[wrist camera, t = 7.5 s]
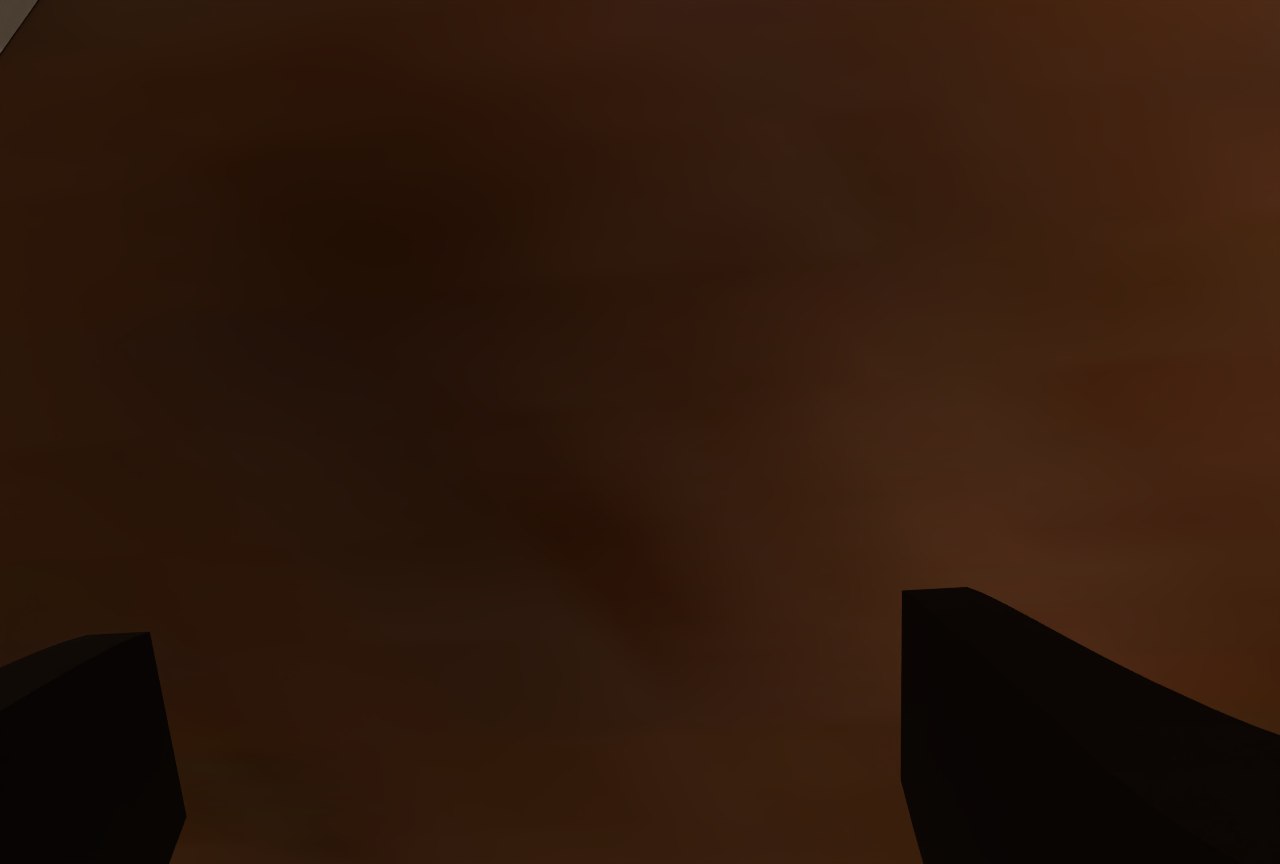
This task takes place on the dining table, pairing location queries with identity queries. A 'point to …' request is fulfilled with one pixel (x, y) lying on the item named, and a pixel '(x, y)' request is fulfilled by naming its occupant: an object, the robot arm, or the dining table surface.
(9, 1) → the pin board
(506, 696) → the dining table surface
